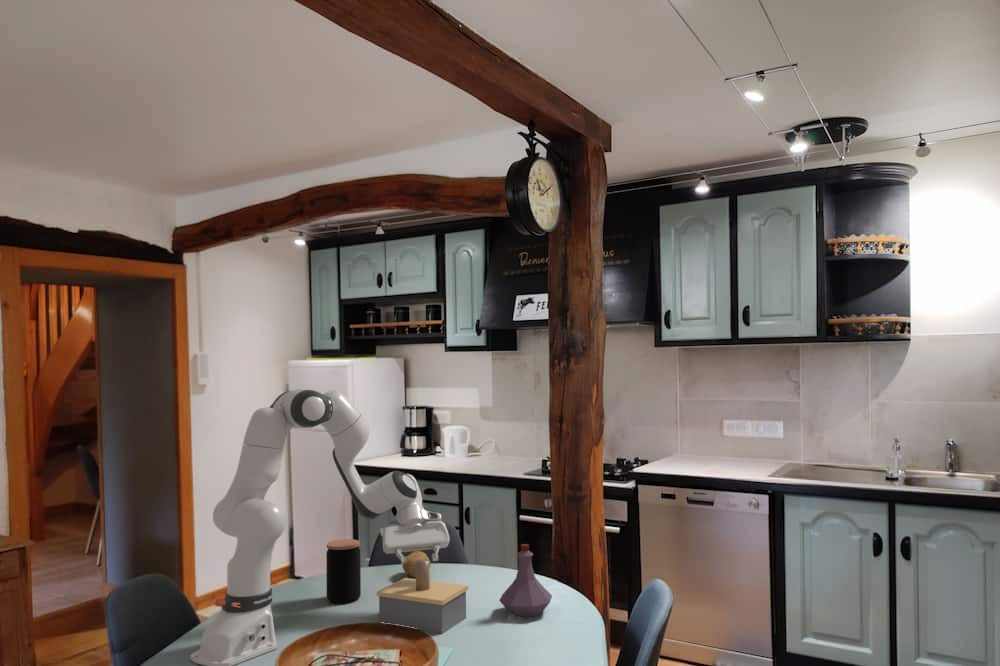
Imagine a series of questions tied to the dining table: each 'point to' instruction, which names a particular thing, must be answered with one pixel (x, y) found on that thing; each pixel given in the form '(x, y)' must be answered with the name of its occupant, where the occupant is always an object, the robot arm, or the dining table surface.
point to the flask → (525, 590)
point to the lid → (422, 588)
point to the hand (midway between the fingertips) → (420, 561)
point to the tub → (423, 613)
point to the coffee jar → (343, 571)
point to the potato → (414, 562)
